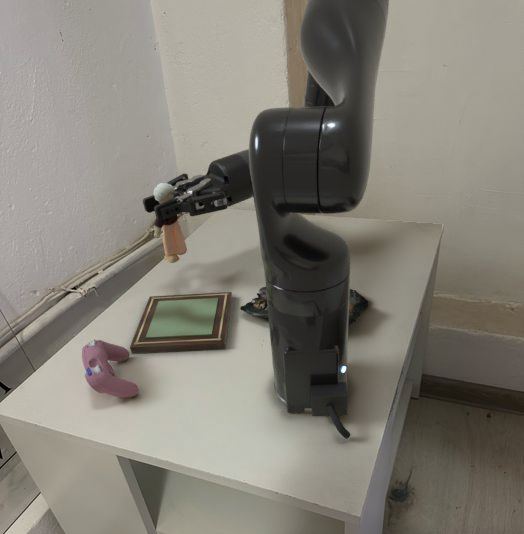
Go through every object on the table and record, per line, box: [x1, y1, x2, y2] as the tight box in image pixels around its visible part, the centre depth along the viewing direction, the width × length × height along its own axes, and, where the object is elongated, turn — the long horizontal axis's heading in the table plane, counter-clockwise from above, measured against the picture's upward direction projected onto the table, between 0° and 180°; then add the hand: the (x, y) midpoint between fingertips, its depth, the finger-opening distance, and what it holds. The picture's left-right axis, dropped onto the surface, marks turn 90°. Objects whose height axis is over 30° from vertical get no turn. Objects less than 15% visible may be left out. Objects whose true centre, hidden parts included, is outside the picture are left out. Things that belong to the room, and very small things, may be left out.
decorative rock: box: [239, 286, 369, 325], centre depth 75 cm, size 19×6×15 cm
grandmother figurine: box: [152, 182, 188, 264], centre depth 78 cm, size 8×4×13 cm, turn 164°
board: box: [129, 291, 233, 355], centre depth 76 cm, size 14×14×1 cm
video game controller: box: [81, 338, 140, 398], centre depth 65 cm, size 10×5×7 cm, turn 21°
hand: (150, 210), depth 75 cm, fingers open, 3 cm apart
